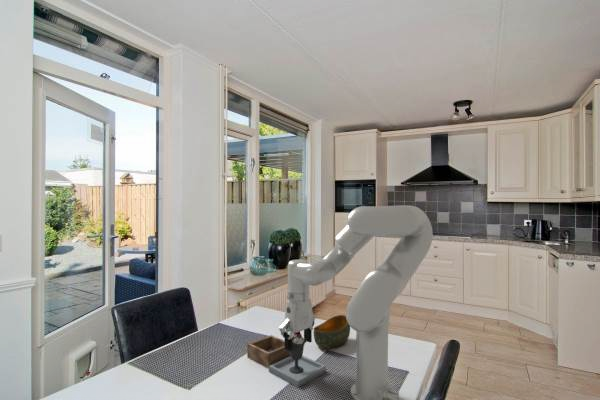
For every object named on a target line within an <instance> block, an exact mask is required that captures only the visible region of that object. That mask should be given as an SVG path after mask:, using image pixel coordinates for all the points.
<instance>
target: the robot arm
mask: <svg viewBox="0 0 600 400" xmlns="http://www.w3.org/2000/svg"><path fill="white" fill-rule="evenodd" d="M433 235H434V234H433V227H432V223H431V221H430V219H429V217H428V215H427V214H426V213H425V212H424V210H422V209H421V208H420V207H417V206H414V205H406V204H404V205H401V204H399V205H380V206H379V205H378V206H377V205H376V206H371V205H369V206H368V205H367V206H363V205H362V206H361V205H360V206H358V207H354V208H353V209H352V210H351V211H350V213H349V214H348V217H347V224H346V225H345V226H344V227H343V228H342V229H341V230H340V231H339V232H338V233H337V234H336V236H334V241H335V245H334V247H333V248H332V249H331V250H330V252H329V253H328V254H326V255H325V256H324V258H322V259H319V260H316V261H312V262H309V261H308V260H305V259H292V260H289V261H288V264H287V295H286V300H287V301H286V303H285V312H284V322H283V323H282V324H281V325H280V326H279V328H278V330H279V333H280V335H281V336H282V337H283V339H284V341H285V349H286V350H289V351H292V339H291V337H292V335H293V333H297V332H300V333H301V332H303V338H304V339H305V340H306V341H307V342H306V343H312V341H313V340H312V339H313V338H312V336H313V335H312V334H313V333H312V332H313V331H314V328H313V327H314V325H315V321H316V318H317V315H315V314H313V304H312V300H311V298H310V286H312V287H313V286H314V287H315V286H317V287H318V286H320V285H321V284H324V283H326V282H328V281H330V280H331V281H332V279H334V278H335V277H336V276H338V274H340V273H341V271H343V270H344V269H345V268H346V267H347V265H349V263H350V262H351V261H352V259H354V257H355V256H356V254H357V253H358V252H360V251H361V250H362V249H363V248H364V246H366V245H367V244H368V243H369V242H370V241H371V240H372V239H373V238H375V237H383V238H385V237H387V238H388V237H390V238H392V237H393V238H399V237H400V239H399V240H398V242H397V243H396V244H395V246H394V247H393V249H392V251H391V252H390V254H389V255H388V257H387V258H386V259H385V261H384V262H382V264H381V265H379V266H377V267H376V268H374V269H372V270H370V272H369V273H368V274H367V275H365V276H366V277H364V279H363V280H362V282H360V285H359V286H358V288H357V290H356V291H355V292H354V294H353V295H352V296H351V299H350V300H349V301H348V304H347V305H346V308H345V316H346V319H347V322H348V324H349V325H350V329H353V331H355V332H356V337H355V342H356V343H355V345H356V346H355V383H354V384H353V385H351V387H350V396H351V398H352V399H353V400H400V392H399V391H396V390H394V389H392V382H389V381H388V380H389V379H388V378H389V372H388V371H389V365H388V363H389V329H390V328H389V327H390V319H391V305H392V304H393V302H394V301H395V300H396V298H397V297H399V296H400V295H401V294H402V293H403V292H404V290H406V287H407V285H408V283H409V282H410V280H411V279H412V277H413V276H414V274H415V273H416V272H417V270H418V268H419V267H420V265H421V264H422V262H423V261H424V259H426V256H427V254H428V253H429V251H430V248H431V246H432V243H433V237H434V236H433Z"/></svg>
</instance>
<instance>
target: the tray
mask: <svg viewBox="0 0 600 400" xmlns="http://www.w3.org/2000/svg"><path fill="white" fill-rule="evenodd" d="M293 366H295V360H294V359H293V358H292V357H291V356H290V357H287V358H285V359H283V360H281V361H279V362H277V363H274V364H272V365H270V366H269V368H268V372H269V373H270V374H272V375H274V376H276V377H277V378H279V379H281V380H282V381H283V380H284V381H285V382H287V383H289V384H291V385H292V386H294V387H297V388H300V387H302V386H304V385H305V384H307V383H308V382H310V381H312V380H313V379H316V378H318V377H319V376H322V375H323V374H324V373H326V372H327V366H326V365H325V364H322V363H320V362H319V361H316V360H313V359H311V358H309V357H307V356H304V355H302V357H301V359H299V360H298V366H300V367H302V368H303V369H304V370H303V372H302V373H298V374H295V373H291V372H290V371H289V369H290V368H291V367H293Z"/></svg>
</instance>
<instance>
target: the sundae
mask: <svg viewBox="0 0 600 400" xmlns="http://www.w3.org/2000/svg"><path fill="white" fill-rule="evenodd" d="M291 339H292V351H290V354H291V357H292V358H293V359H294V360H295V366H293V367H291V368H290V369H289V371H290V372H291V373H295V374H298V373H302V372H303V370H304V369H303V368H302V367H300V366H298V360H299V359H301V357H302V356H304V355H303V353H304V348H305V344H306V343H308V342H307V341H306V340H305V339H304V337H303V335H302V333H301V331H300V332H297V333H293V335H292V337H291Z"/></svg>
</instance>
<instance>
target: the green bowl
mask: <svg viewBox="0 0 600 400" xmlns="http://www.w3.org/2000/svg"><path fill="white" fill-rule="evenodd" d="M350 334H351V327H350V325H349V324H348V322H347V319H346V314H345V315H344V314H338V315H334V316H333V317H330V318H328V319H327V320H325V321H324V322H322V323H320V324H319V325H316V326H314V328H313V338H314V342H315V344H316V345H317V347H318V349H320V350H322V351H324V350H325V351H330V350H336V349H338V348H342V347H344V346H345V345H346V344H347V342H348V340H349V338H350Z"/></svg>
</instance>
